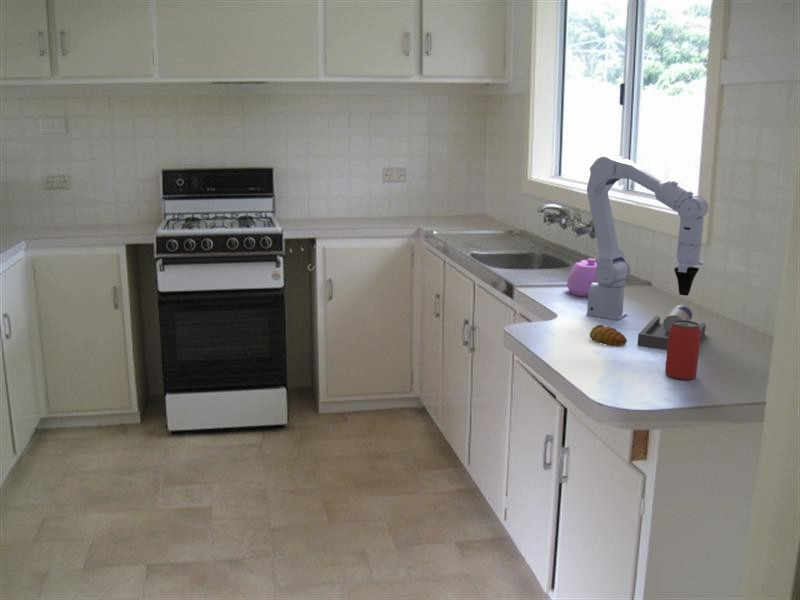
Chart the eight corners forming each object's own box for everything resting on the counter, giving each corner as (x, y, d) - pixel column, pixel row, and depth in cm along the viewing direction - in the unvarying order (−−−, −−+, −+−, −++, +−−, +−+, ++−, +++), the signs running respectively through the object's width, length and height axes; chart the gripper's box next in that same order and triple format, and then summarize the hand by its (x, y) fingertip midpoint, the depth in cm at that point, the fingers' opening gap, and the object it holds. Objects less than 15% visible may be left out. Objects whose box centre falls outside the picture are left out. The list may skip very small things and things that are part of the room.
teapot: (577, 302, 245) (579, 265, 243) (560, 287, 265) (562, 253, 262) (620, 302, 246) (624, 265, 244) (600, 287, 266) (603, 253, 263)
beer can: (659, 371, 183) (665, 319, 180) (688, 371, 184) (694, 319, 181) (671, 381, 177) (677, 327, 174) (701, 380, 177) (707, 327, 175)
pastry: (633, 345, 203) (634, 331, 202) (614, 350, 199) (615, 335, 198) (604, 336, 210) (605, 322, 209) (585, 340, 207) (586, 326, 206)
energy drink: (694, 322, 216) (686, 333, 206) (673, 325, 219) (665, 336, 209) (690, 303, 216) (681, 312, 206) (669, 306, 219) (660, 316, 208)
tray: (637, 345, 202) (638, 333, 201) (654, 326, 219) (655, 316, 219) (691, 354, 196) (692, 342, 196) (704, 334, 214) (705, 323, 213)
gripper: (701, 249, 204) (695, 302, 207) (709, 241, 217) (704, 291, 220) (672, 246, 207) (666, 298, 211) (682, 238, 220) (676, 288, 223)
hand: (683, 294), depth 216 cm, fingers closed
